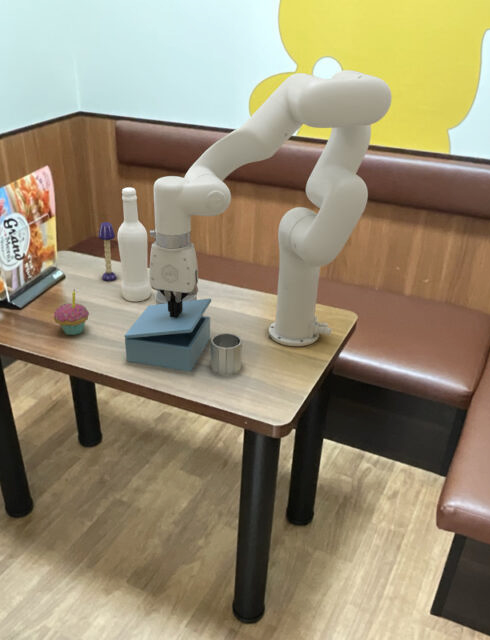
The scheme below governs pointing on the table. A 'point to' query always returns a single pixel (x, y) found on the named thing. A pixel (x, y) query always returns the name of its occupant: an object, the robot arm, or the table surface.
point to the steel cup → (226, 353)
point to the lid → (168, 319)
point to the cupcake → (71, 317)
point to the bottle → (133, 251)
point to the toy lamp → (107, 249)
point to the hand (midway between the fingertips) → (175, 314)
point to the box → (170, 348)
